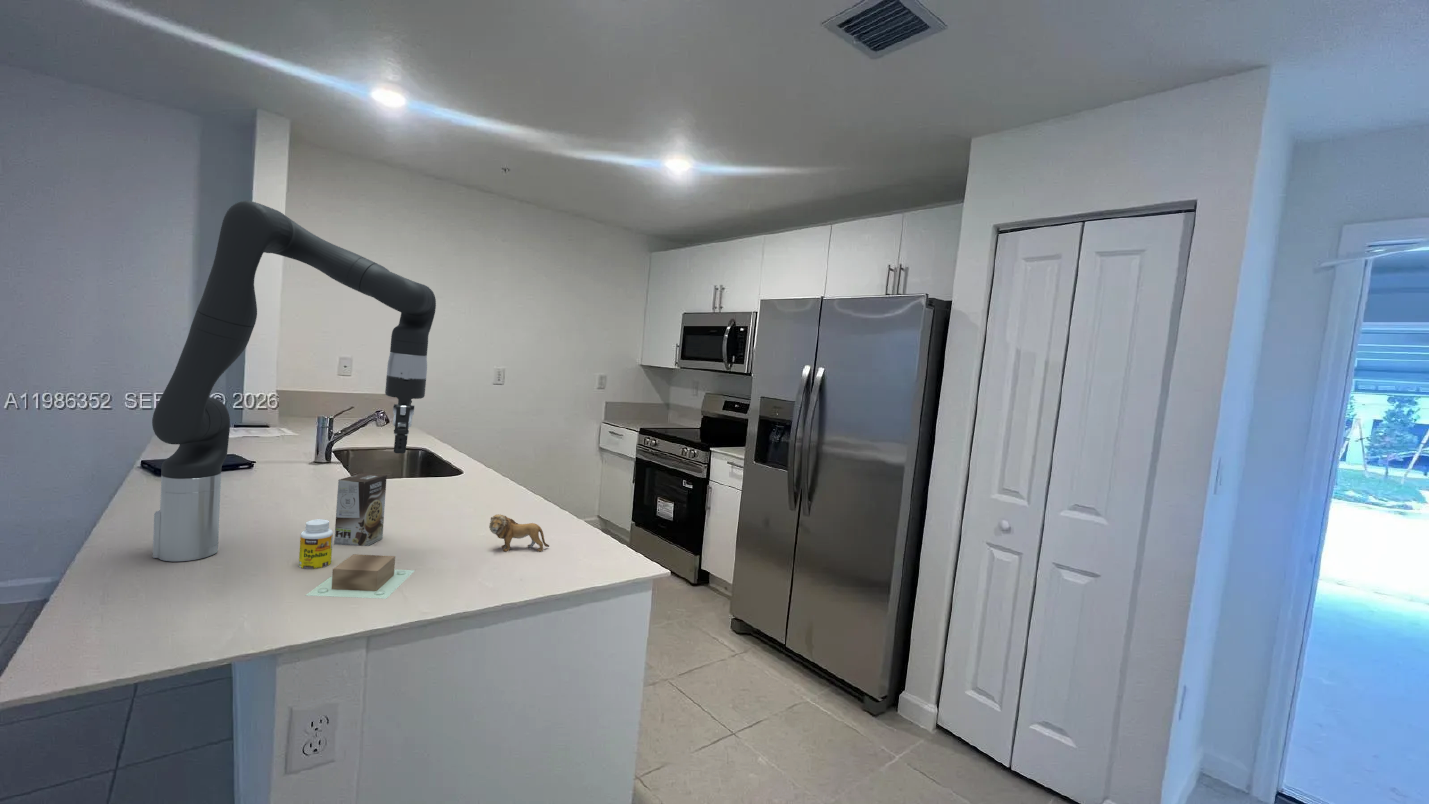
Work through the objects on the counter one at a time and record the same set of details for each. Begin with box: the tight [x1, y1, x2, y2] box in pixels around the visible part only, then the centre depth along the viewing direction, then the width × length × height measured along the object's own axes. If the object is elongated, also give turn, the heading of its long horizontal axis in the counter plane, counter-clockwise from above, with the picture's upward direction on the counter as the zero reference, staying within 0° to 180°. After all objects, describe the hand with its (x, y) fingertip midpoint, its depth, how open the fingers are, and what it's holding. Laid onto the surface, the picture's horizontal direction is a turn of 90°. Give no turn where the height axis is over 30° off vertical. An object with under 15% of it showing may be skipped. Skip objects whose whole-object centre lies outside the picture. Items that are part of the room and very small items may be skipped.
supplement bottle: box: [298, 518, 334, 570], centre depth 118 cm, size 6×6×10 cm
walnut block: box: [331, 553, 396, 591], centre depth 112 cm, size 8×8×4 cm
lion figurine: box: [488, 513, 550, 552], centre depth 142 cm, size 15×5×9 cm, turn 113°
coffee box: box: [333, 472, 388, 547], centre depth 135 cm, size 9×6×16 cm
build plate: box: [304, 568, 416, 600], centre depth 112 cm, size 14×14×2 cm
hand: (400, 449), depth 123 cm, fingers open, 8 cm apart
